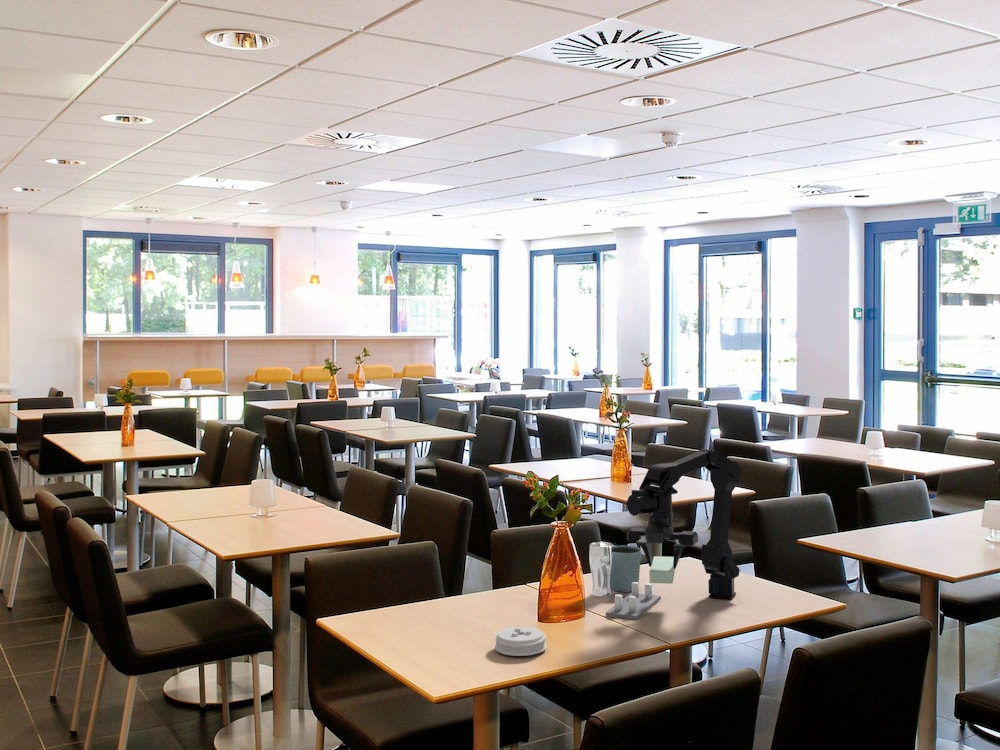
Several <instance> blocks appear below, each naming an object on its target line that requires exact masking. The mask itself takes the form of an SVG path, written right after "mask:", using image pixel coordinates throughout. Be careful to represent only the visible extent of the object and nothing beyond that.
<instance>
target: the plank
mask: <svg viewBox="0 0 1000 750" xmlns="http://www.w3.org/2000/svg"><path fill="white" fill-rule="evenodd" d="M673 561H674V556H654V555H653V557H652V565H651V567H650V568H649V572H648V574H649V583H650V584H665V585H666V584H671V585H673V583H674V578H675V573H676V568H675V569H674V566H673Z"/></svg>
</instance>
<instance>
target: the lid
mask: <svg viewBox="0 0 1000 750" xmlns="http://www.w3.org/2000/svg"><path fill="white" fill-rule="evenodd" d="M494 640H495V646H494V649H495V650H496V651H497V653H499V654H502V655H505V656H514V657H517V656H518V657H523V656H533V655H537V654H540V653H543V652H544V651H545V650H546V649H547V646H548V645H547V644H546V640H547V634H546V633H545V632H544V631H542V630H541V629H539V628H537V627H531V626H512V627H508V628H504V629H502V630H500V631H499V632H498V633H496V634H495V636H494Z"/></svg>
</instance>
